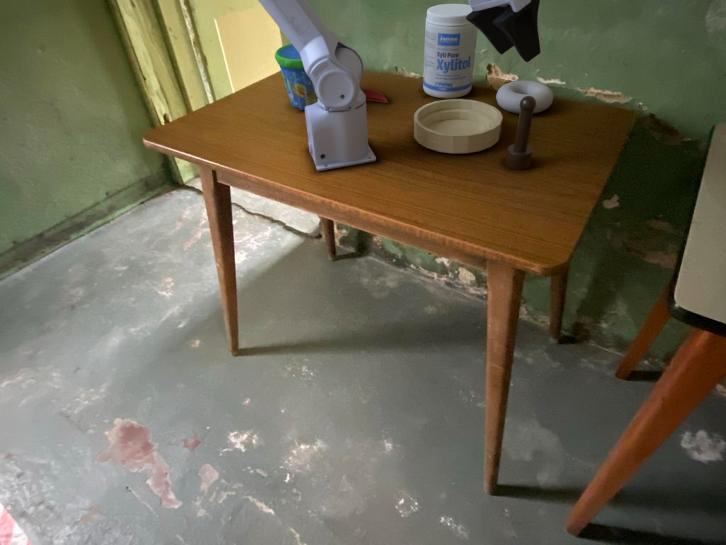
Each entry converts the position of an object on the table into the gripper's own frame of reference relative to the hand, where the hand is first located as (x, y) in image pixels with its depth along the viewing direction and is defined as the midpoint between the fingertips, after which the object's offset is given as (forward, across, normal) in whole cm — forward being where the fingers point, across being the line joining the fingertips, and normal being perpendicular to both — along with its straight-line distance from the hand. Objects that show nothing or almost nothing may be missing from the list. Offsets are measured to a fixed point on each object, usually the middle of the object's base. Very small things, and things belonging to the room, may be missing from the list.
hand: (519, 53), depth 68 cm
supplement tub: (+9, +29, +5) cm, 31 cm away
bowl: (+9, +10, +11) cm, 18 cm away
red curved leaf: (+1, +31, +20) cm, 37 cm away
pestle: (+14, -2, +7) cm, 16 cm away
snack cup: (-4, +32, +29) cm, 43 cm away
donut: (+16, +17, -3) cm, 24 cm away
